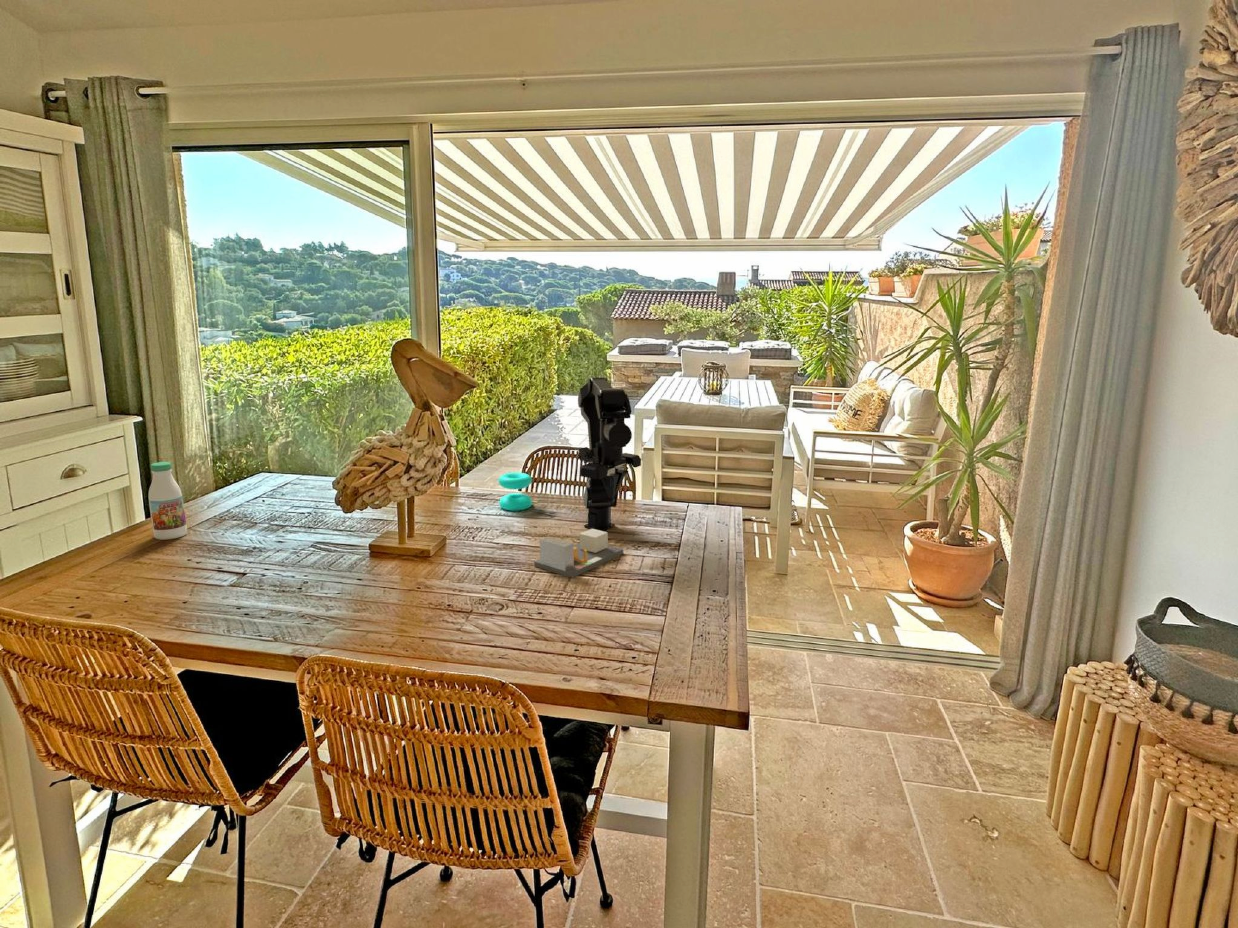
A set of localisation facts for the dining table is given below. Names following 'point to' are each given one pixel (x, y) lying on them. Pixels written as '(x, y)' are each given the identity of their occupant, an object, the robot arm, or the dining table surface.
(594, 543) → the block
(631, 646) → the dining table surface
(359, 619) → the dining table surface
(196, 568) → the dining table surface
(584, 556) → the needle rider
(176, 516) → the milk bottle
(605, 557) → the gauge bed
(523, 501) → the donuts
